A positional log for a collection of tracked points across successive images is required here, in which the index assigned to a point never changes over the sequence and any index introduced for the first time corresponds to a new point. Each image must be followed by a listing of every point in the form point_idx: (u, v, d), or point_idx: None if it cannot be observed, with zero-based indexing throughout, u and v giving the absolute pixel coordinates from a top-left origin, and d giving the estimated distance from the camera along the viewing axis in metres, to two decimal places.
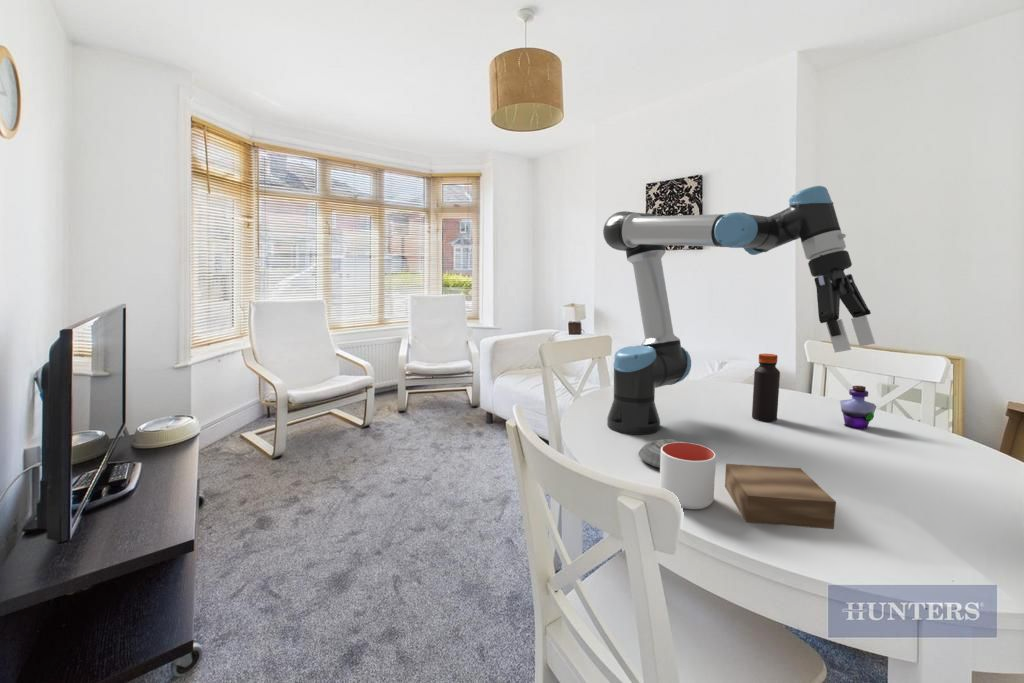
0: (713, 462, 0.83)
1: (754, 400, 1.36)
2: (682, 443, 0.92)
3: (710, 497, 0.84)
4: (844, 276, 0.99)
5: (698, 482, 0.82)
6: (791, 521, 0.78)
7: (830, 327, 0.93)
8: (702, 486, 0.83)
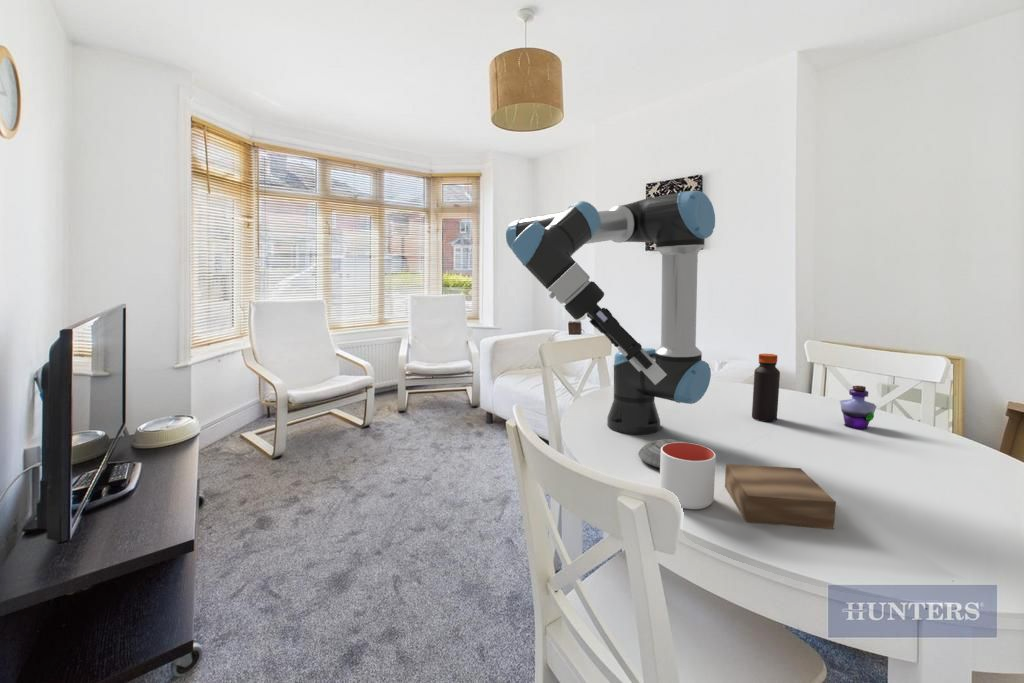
0: (713, 462, 0.83)
1: (754, 400, 1.36)
2: (682, 443, 0.92)
3: (710, 497, 0.84)
4: None
5: (698, 482, 0.82)
6: (791, 521, 0.78)
7: None
8: (702, 486, 0.83)
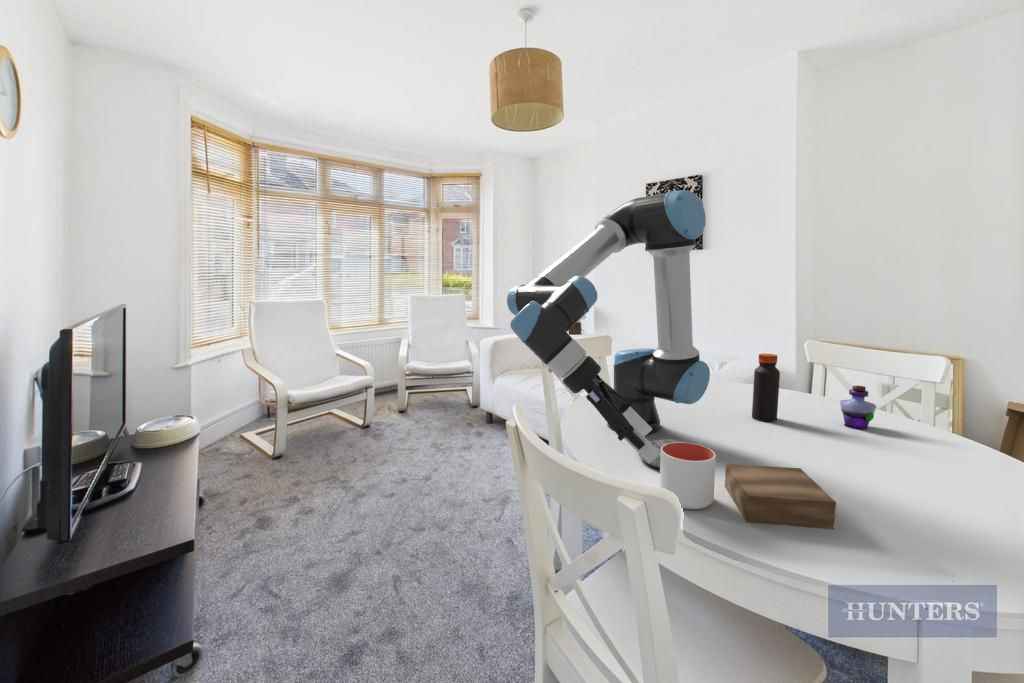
0: (713, 462, 0.83)
1: (754, 400, 1.36)
2: (682, 443, 0.92)
3: (710, 497, 0.84)
4: None
5: (698, 482, 0.82)
6: (791, 521, 0.78)
7: None
8: (702, 486, 0.83)
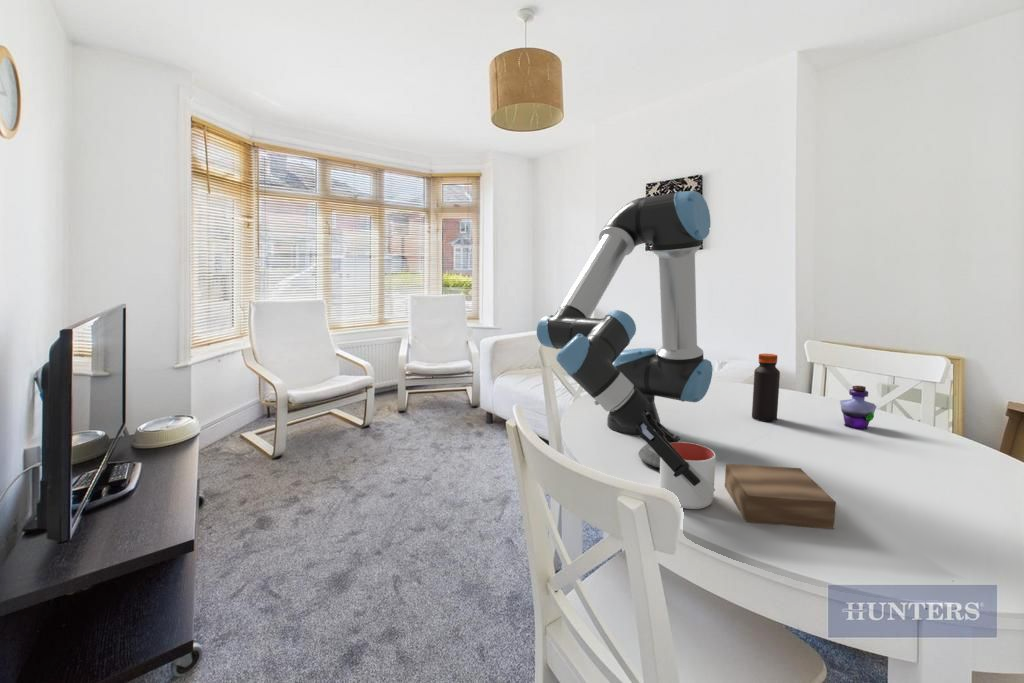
0: (713, 462, 0.83)
1: (754, 400, 1.36)
2: (682, 443, 0.92)
3: (710, 496, 0.84)
4: None
5: None
6: (791, 521, 0.78)
7: None
8: None
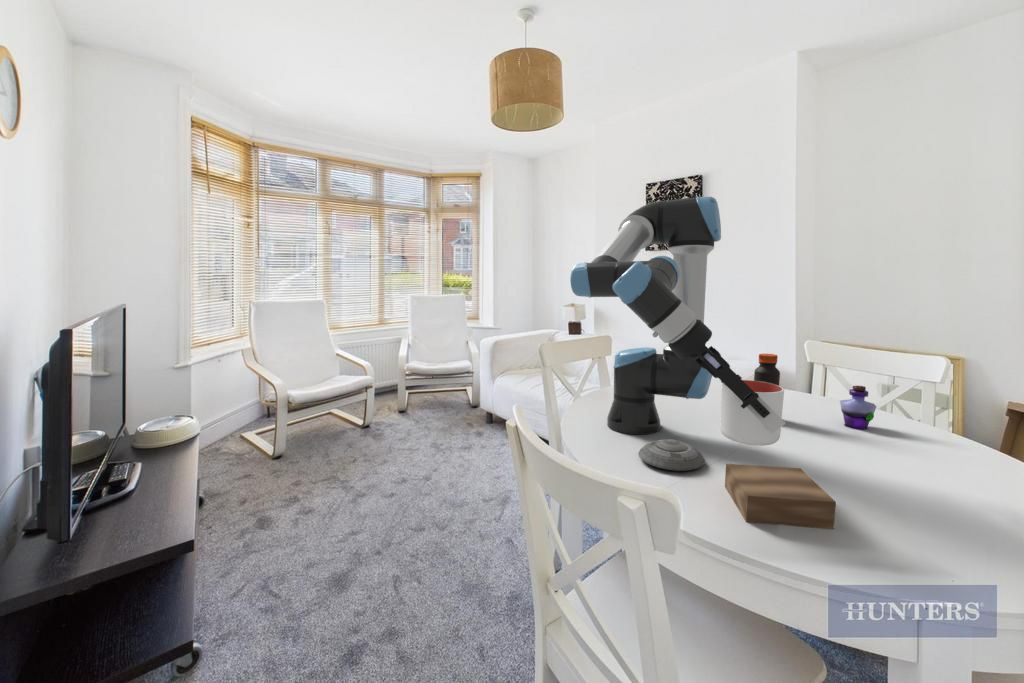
0: (782, 395, 0.78)
1: None
2: (744, 380, 0.86)
3: (777, 432, 0.79)
4: (700, 358, 0.81)
5: None
6: (791, 521, 0.78)
7: None
8: None
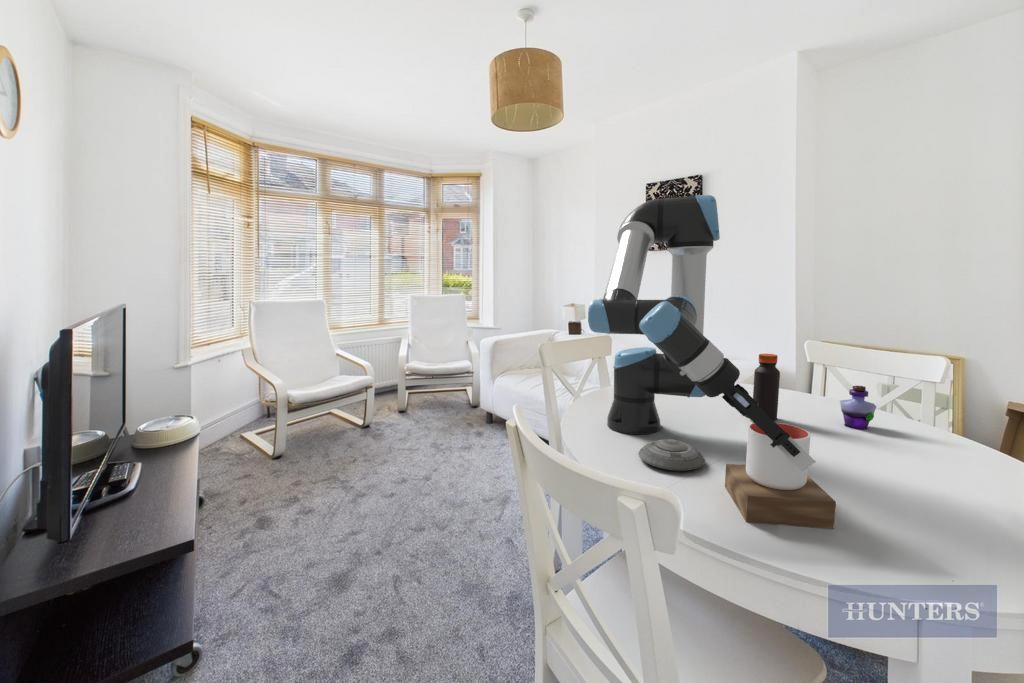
0: (809, 440, 0.80)
1: None
2: None
3: (805, 477, 0.80)
4: (729, 397, 0.81)
5: None
6: (791, 521, 0.78)
7: None
8: None
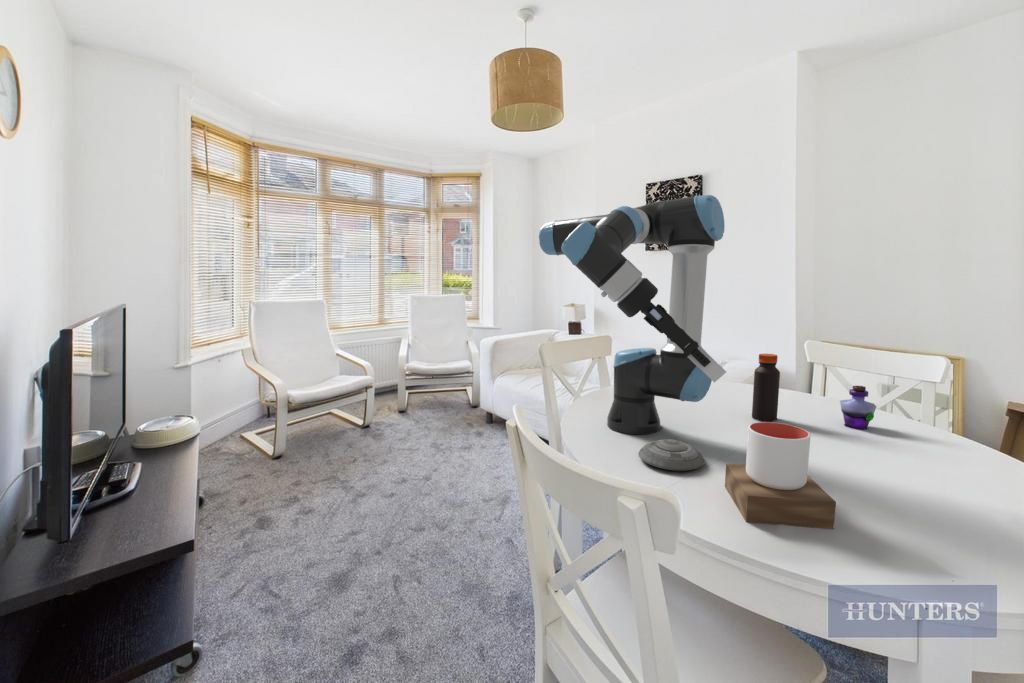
0: (809, 440, 0.80)
1: (754, 400, 1.36)
2: (768, 422, 0.88)
3: (805, 477, 0.80)
4: None
5: (794, 461, 0.79)
6: (791, 521, 0.78)
7: None
8: (798, 465, 0.79)
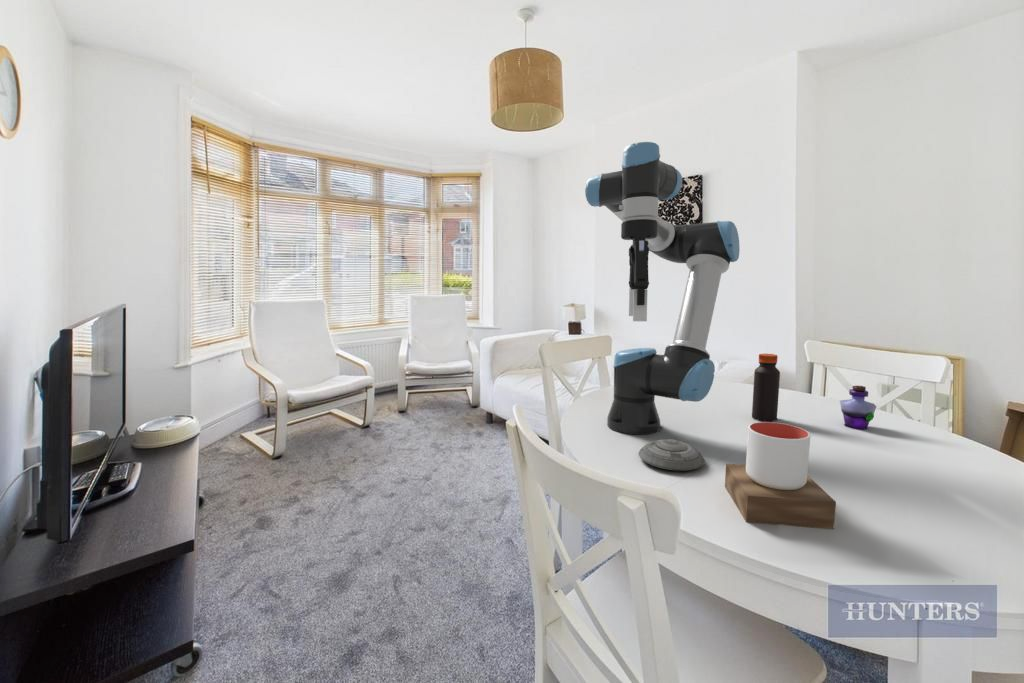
0: (809, 440, 0.80)
1: (754, 400, 1.36)
2: (768, 422, 0.88)
3: (805, 477, 0.80)
4: (634, 244, 0.94)
5: (794, 461, 0.79)
6: (791, 521, 0.78)
7: None
8: (798, 465, 0.79)
